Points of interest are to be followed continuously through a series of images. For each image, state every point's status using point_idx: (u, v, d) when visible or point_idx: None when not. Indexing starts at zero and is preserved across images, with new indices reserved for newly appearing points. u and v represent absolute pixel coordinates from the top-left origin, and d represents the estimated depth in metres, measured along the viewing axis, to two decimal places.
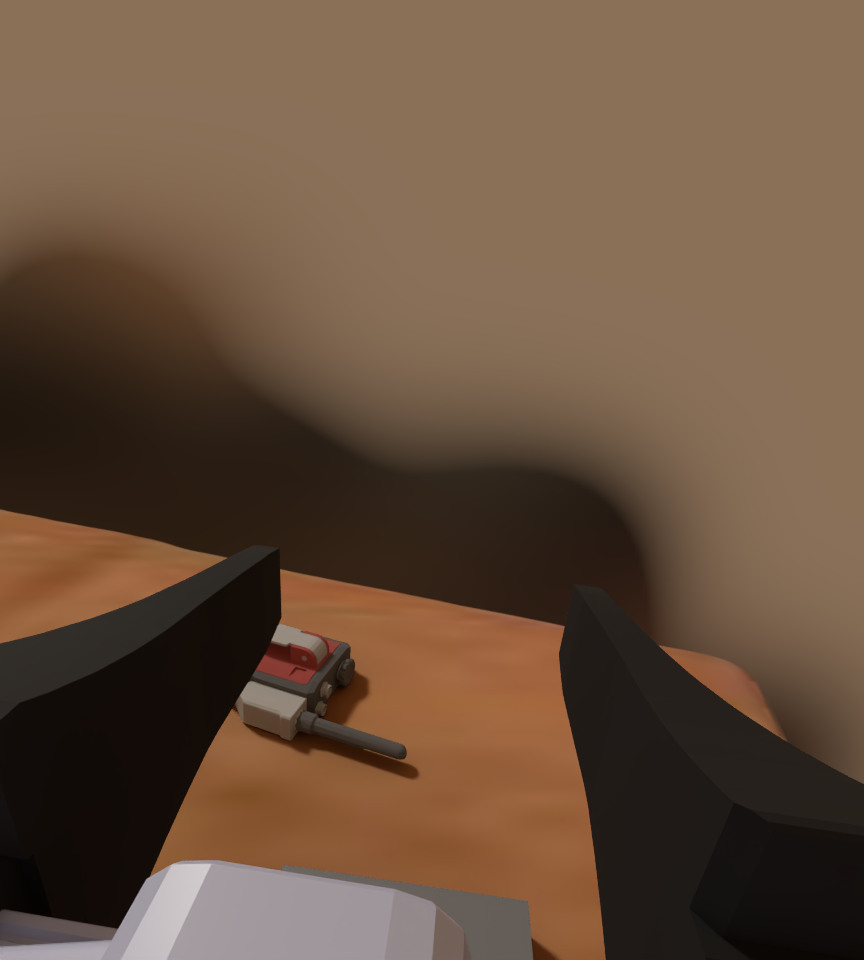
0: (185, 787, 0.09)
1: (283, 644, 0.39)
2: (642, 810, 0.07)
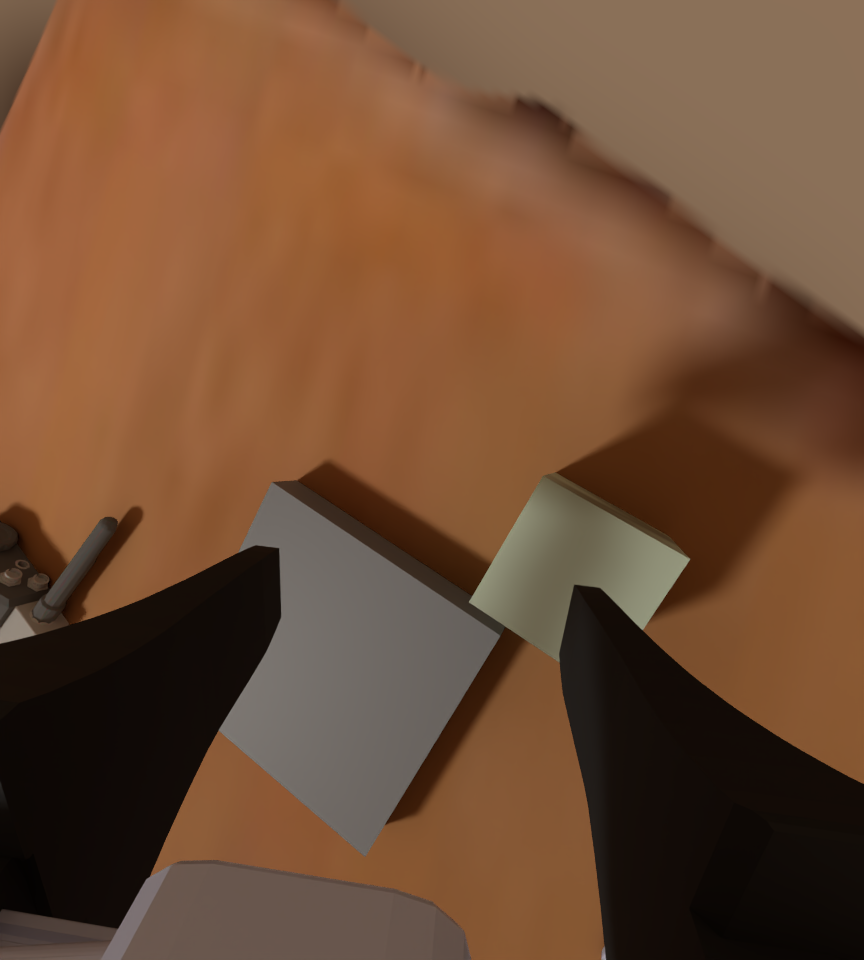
0: (186, 787, 0.09)
1: None
2: (642, 810, 0.07)
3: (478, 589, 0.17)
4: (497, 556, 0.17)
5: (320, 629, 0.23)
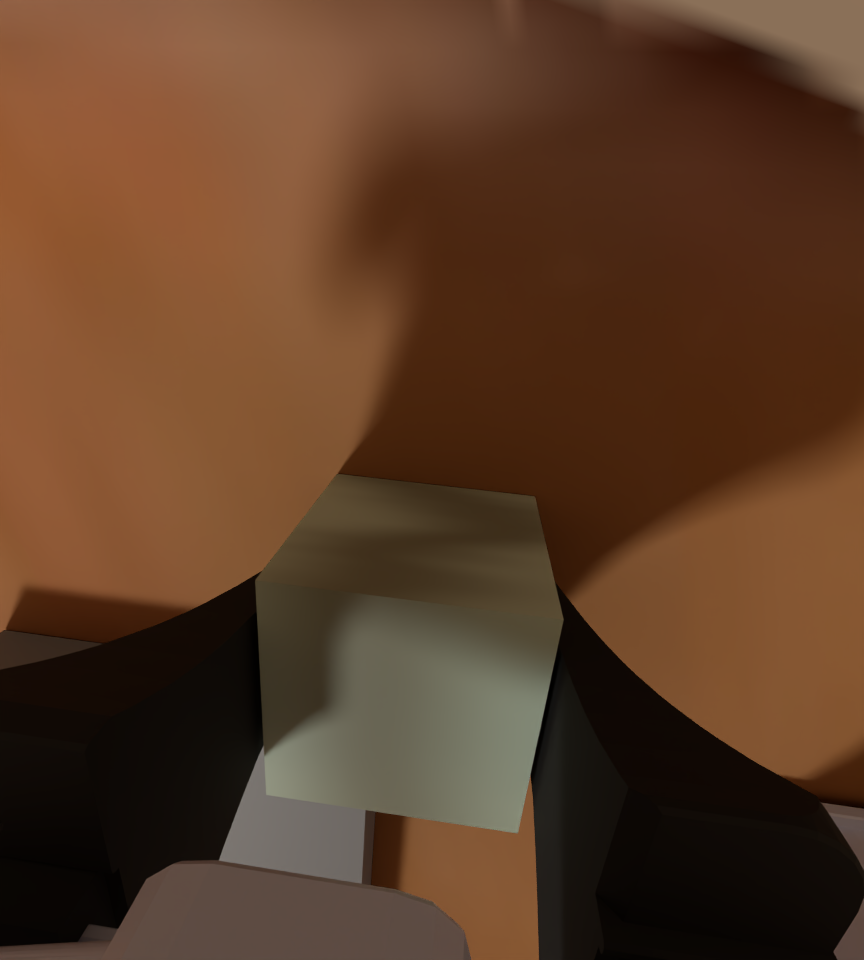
0: (240, 796, 0.09)
1: None
2: (568, 799, 0.07)
3: (268, 775, 0.10)
4: (265, 722, 0.10)
5: None
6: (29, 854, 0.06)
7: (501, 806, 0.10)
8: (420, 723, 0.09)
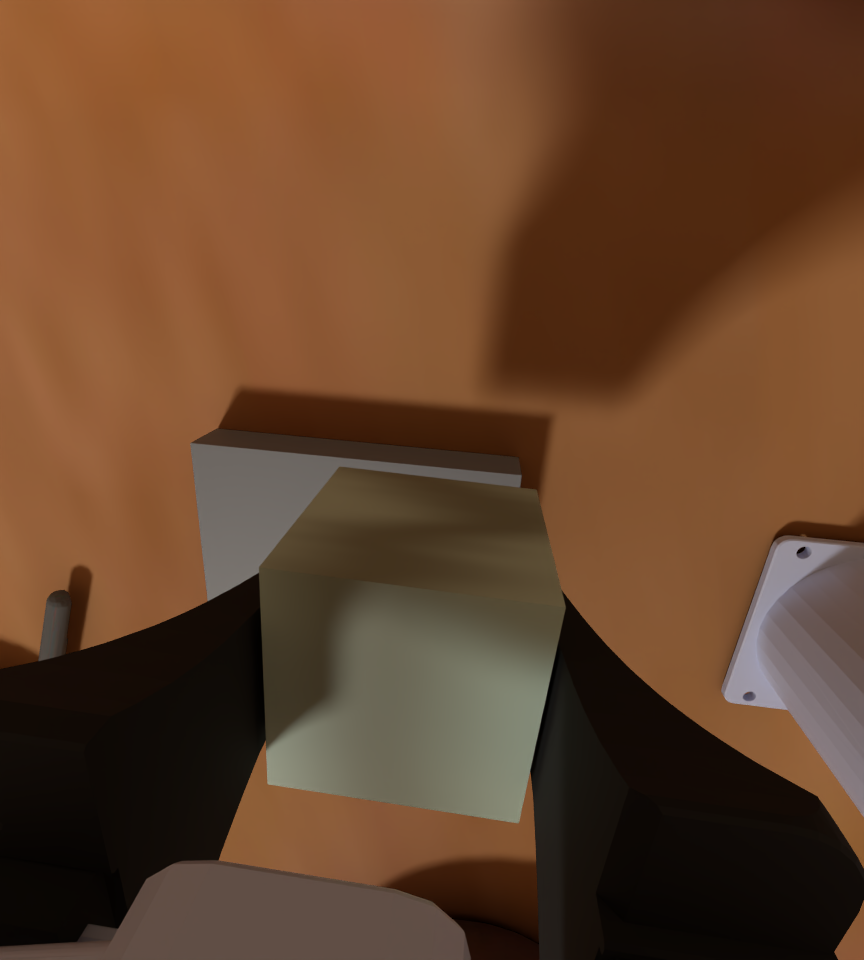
0: (239, 796, 0.09)
1: None
2: (568, 799, 0.07)
3: (269, 764, 0.10)
4: (267, 710, 0.10)
5: None
6: (28, 854, 0.06)
7: (502, 797, 0.10)
8: (422, 712, 0.09)
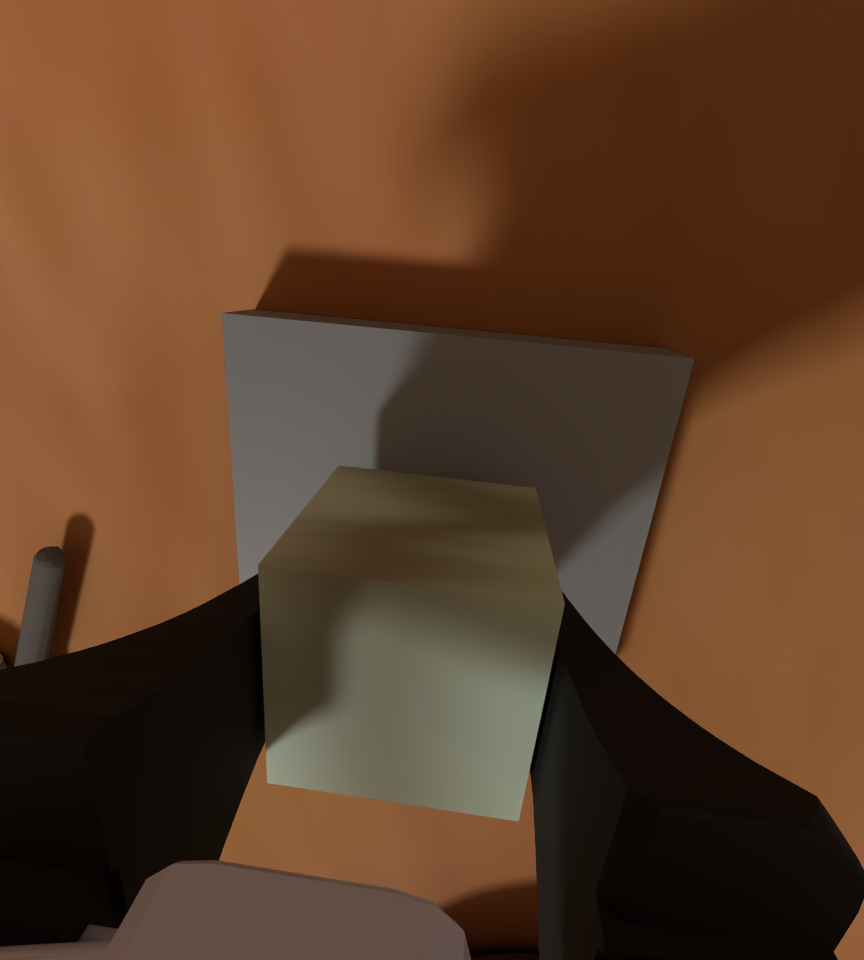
0: (239, 796, 0.09)
1: None
2: (568, 799, 0.07)
3: (269, 763, 0.10)
4: (267, 709, 0.10)
5: None
6: (29, 854, 0.06)
7: (502, 794, 0.10)
8: (421, 710, 0.09)
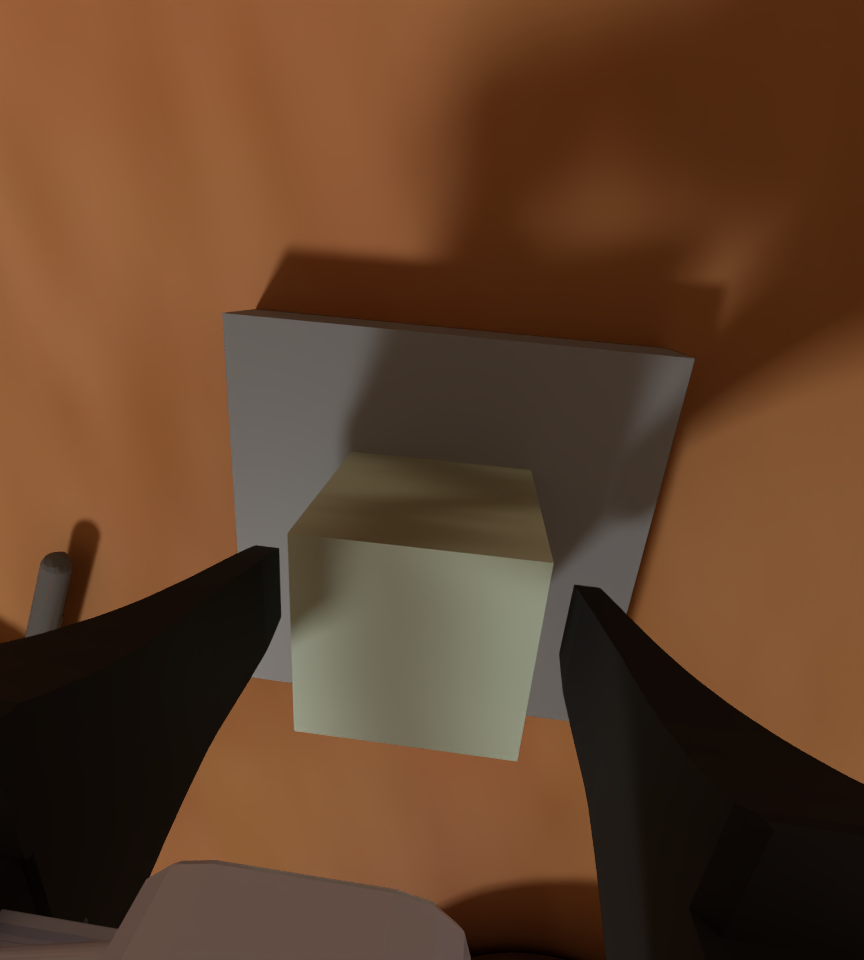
0: (186, 787, 0.09)
1: None
2: (642, 810, 0.07)
3: (296, 712, 0.11)
4: (294, 663, 0.11)
5: None
6: None
7: (502, 736, 0.11)
8: (430, 661, 0.10)
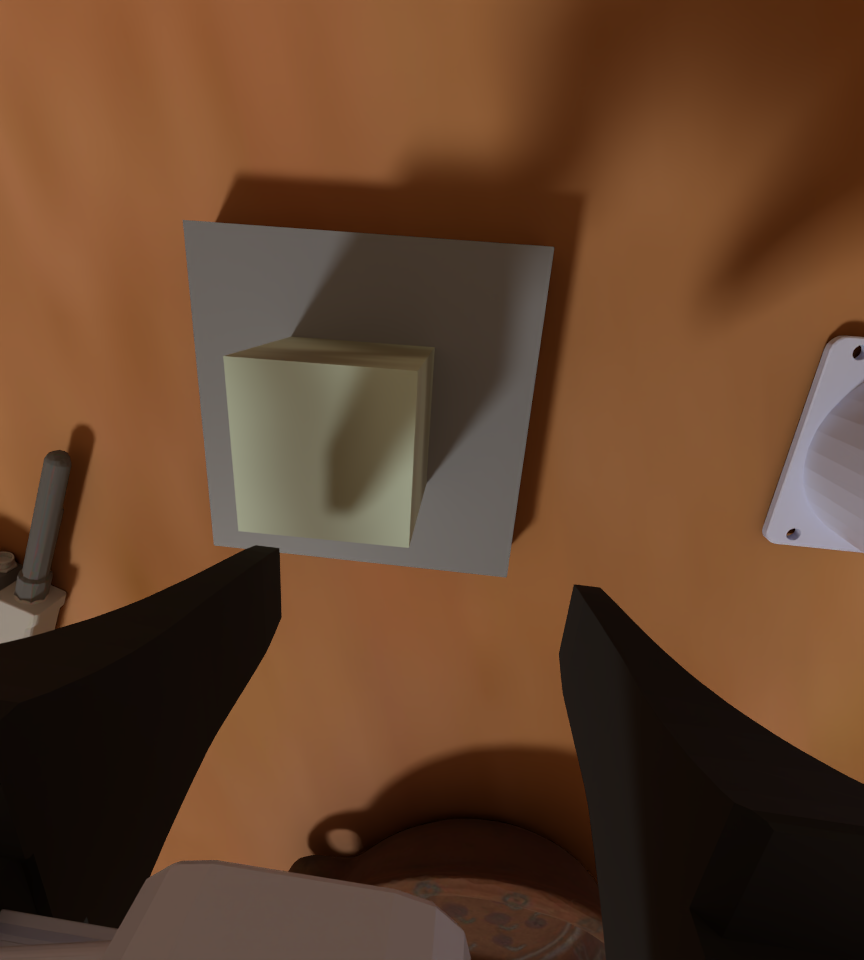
0: (186, 787, 0.09)
1: None
2: (642, 810, 0.07)
3: (238, 513, 0.15)
4: (235, 469, 0.14)
5: None
6: None
7: (395, 526, 0.14)
8: (336, 461, 0.14)
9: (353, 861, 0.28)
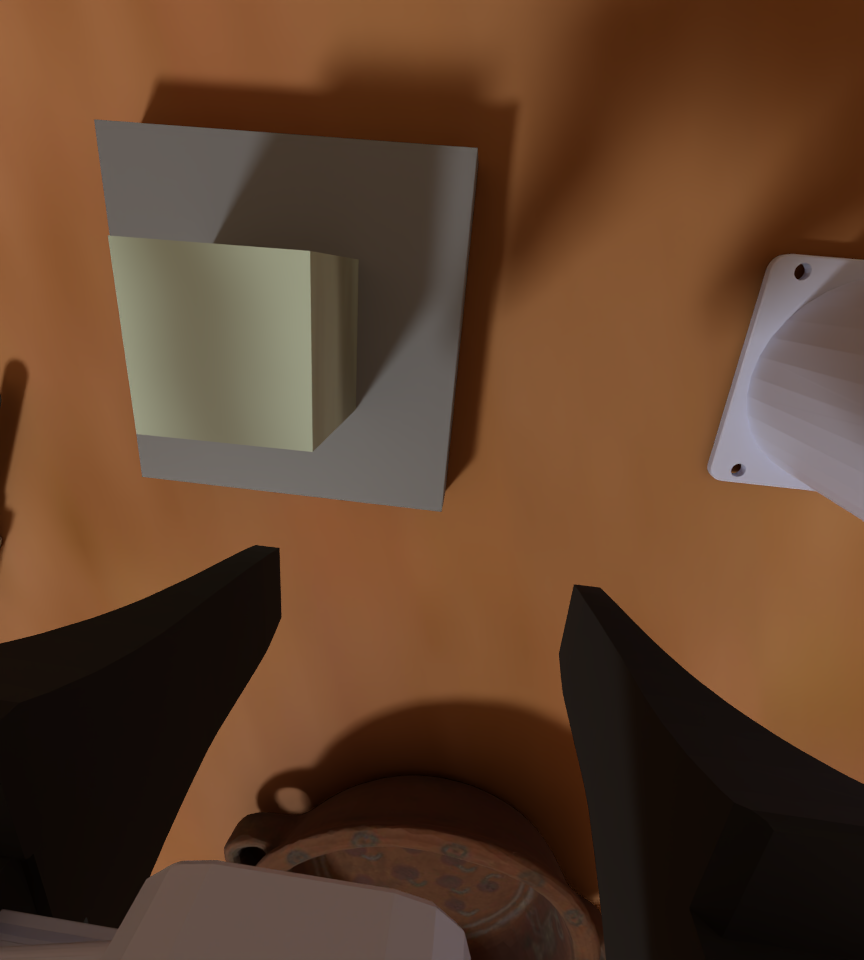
0: (186, 787, 0.09)
1: None
2: (642, 810, 0.07)
3: (135, 414, 0.14)
4: (129, 365, 0.14)
5: None
6: None
7: (298, 427, 0.14)
8: (232, 354, 0.13)
9: (299, 818, 0.28)
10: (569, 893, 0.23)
